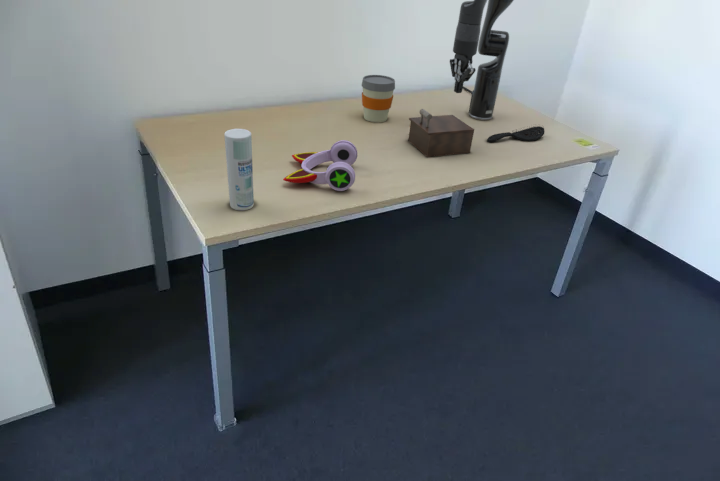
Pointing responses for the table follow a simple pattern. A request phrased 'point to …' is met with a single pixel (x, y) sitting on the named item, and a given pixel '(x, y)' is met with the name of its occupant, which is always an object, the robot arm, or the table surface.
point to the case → (440, 142)
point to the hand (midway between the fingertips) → (457, 92)
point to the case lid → (439, 124)
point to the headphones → (336, 174)
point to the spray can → (239, 168)
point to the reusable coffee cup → (377, 97)
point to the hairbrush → (520, 134)
